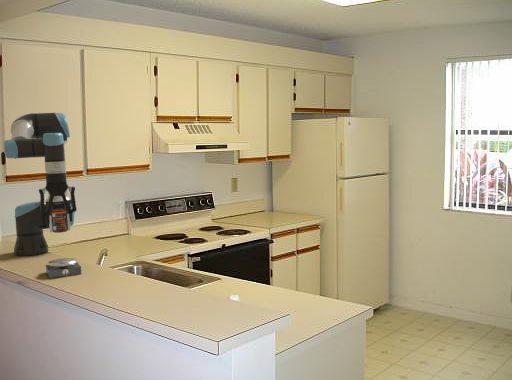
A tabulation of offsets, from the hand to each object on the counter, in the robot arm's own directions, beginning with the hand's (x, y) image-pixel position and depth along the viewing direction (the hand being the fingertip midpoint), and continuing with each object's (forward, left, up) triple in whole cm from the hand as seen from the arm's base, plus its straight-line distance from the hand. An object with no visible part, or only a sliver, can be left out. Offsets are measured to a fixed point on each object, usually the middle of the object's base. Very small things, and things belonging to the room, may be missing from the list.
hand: (60, 230), depth 228 cm
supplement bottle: (0, 0, -1) cm, 1 cm away
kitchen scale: (0, 0, -17) cm, 17 cm away
